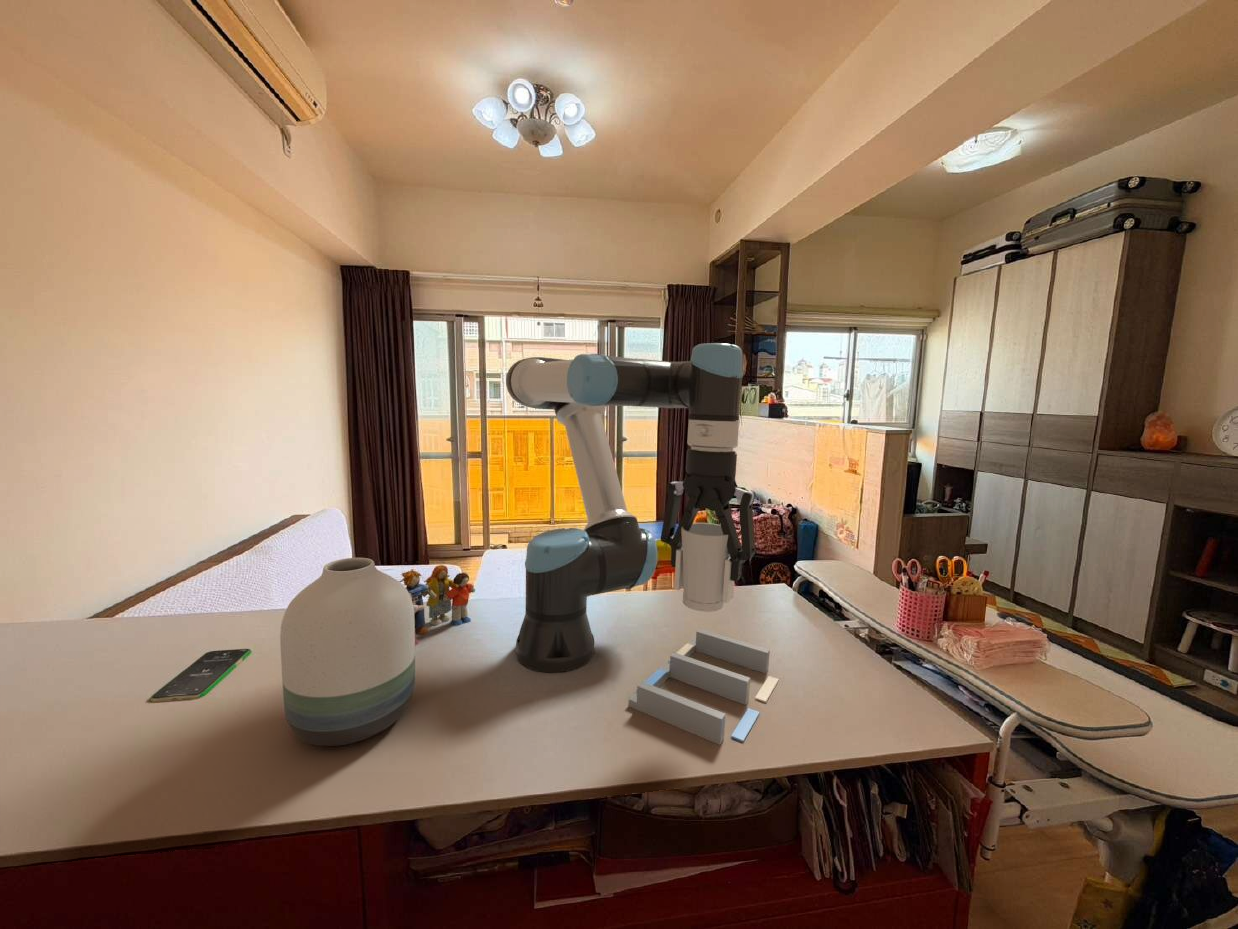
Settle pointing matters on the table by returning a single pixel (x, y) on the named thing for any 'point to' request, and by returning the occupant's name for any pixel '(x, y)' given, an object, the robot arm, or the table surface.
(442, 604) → the doll family
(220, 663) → the smartphone
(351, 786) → the table surface
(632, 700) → the parallel grey wall panels
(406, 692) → the vase
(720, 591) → the cup
